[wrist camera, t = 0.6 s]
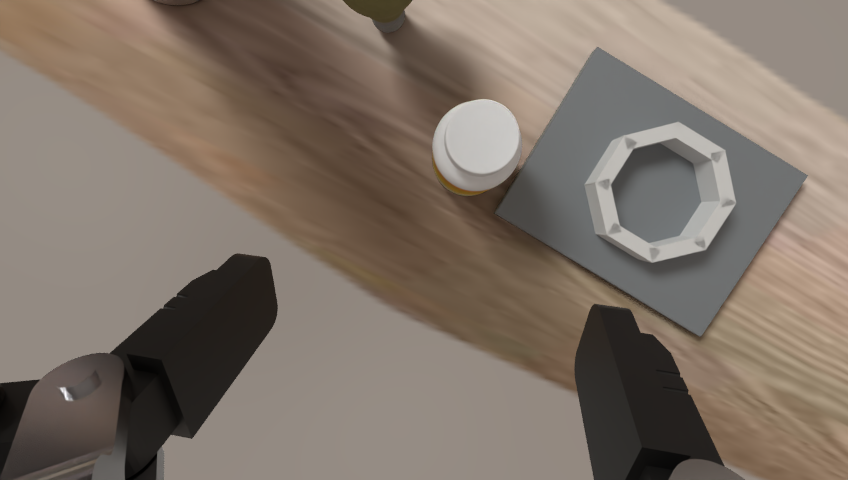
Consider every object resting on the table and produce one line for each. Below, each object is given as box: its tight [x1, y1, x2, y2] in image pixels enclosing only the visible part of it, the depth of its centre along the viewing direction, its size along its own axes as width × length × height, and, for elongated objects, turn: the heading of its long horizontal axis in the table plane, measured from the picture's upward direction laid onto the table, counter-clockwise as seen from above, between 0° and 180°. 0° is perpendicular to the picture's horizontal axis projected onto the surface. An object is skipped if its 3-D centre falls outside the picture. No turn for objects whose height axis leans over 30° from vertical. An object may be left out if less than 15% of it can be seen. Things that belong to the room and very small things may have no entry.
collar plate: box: [494, 47, 808, 337], centre depth 30 cm, size 18×14×3 cm
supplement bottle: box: [432, 99, 522, 196], centre depth 26 cm, size 5×5×10 cm
